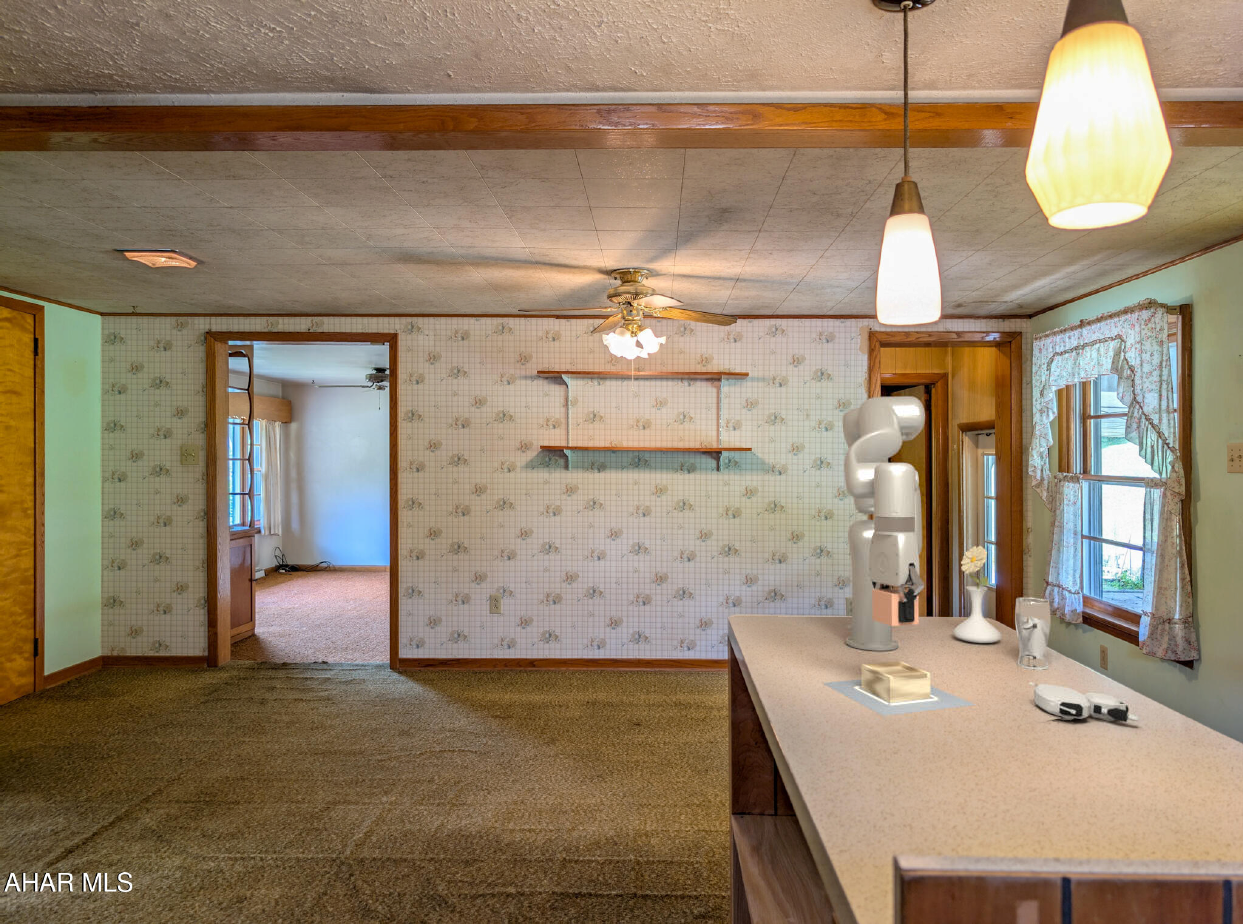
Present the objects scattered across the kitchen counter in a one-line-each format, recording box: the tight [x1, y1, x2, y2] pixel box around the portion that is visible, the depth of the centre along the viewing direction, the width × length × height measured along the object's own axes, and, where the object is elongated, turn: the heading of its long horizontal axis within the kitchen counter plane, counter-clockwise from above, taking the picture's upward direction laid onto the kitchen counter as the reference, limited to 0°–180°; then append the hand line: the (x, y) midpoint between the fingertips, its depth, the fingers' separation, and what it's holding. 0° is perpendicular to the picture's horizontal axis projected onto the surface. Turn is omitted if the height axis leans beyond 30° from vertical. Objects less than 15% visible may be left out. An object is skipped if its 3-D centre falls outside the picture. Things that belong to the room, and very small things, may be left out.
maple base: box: [860, 660, 931, 703], centre depth 141 cm, size 9×9×5 cm
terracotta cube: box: [872, 587, 920, 627], centre depth 141 cm, size 6×6×6 cm
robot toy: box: [1028, 682, 1140, 723], centre depth 131 cm, size 12×4×15 cm
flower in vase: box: [952, 545, 1003, 644], centre depth 186 cm, size 13×11×25 cm
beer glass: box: [1014, 596, 1052, 671], centre depth 163 cm, size 7×7×15 cm
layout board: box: [822, 678, 976, 717], centre depth 141 cm, size 20×20×1 cm
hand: (895, 617), depth 141 cm, fingers closed on terracotta cube, 6 cm apart
